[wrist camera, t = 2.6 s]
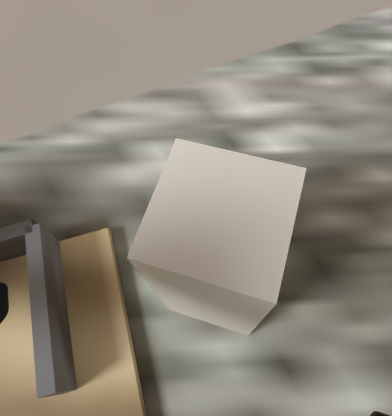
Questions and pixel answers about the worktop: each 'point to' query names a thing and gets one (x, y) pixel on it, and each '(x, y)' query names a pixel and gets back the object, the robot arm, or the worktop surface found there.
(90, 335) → the dock station
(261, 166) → the block
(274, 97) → the worktop surface
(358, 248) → the worktop surface
